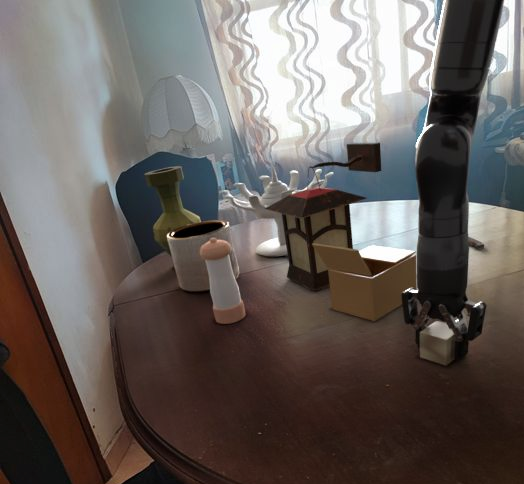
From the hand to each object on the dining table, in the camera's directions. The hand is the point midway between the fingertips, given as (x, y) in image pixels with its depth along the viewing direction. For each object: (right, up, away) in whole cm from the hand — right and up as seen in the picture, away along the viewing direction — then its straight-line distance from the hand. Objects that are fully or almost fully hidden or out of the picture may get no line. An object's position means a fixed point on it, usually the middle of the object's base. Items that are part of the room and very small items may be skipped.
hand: (440, 351), depth 80 cm
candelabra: (-23, +33, +71) cm, 81 cm away
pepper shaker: (-38, +8, +30) cm, 50 cm away
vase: (-56, +28, +73) cm, 96 cm away
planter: (-46, +20, +55) cm, 74 cm away
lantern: (-12, +21, +43) cm, 49 cm away
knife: (+24, +32, +53) cm, 66 cm away
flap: (-15, +19, +13) cm, 27 cm away
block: (0, -1, 0) cm, 1 cm away
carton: (-6, +11, +24) cm, 27 cm away
